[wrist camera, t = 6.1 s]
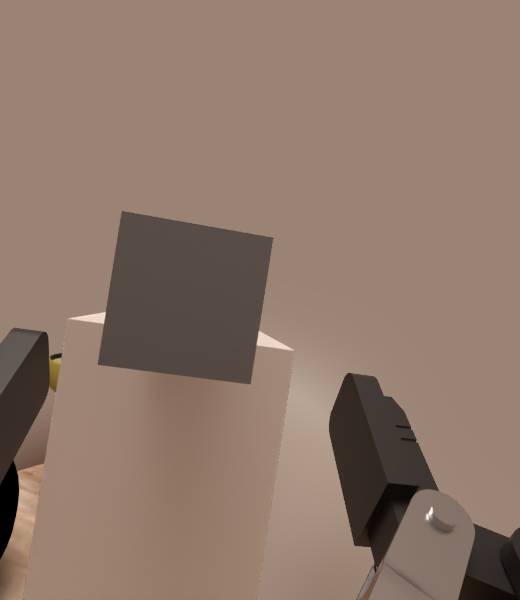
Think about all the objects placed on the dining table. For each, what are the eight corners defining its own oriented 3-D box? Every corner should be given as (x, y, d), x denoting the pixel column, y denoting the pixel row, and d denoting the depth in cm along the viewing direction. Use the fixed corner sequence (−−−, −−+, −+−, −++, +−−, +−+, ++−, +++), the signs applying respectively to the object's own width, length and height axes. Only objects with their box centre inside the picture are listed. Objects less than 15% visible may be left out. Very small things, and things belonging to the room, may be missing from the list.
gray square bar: (250, 384, 12) (273, 234, 12) (97, 365, 11) (122, 207, 11) (212, 321, 42) (219, 278, 42) (169, 315, 41) (176, 271, 41)
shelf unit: (197, 1013, 24) (298, 351, 24) (-51, 1031, 22) (63, 318, 23) (197, 708, 42) (255, 328, 42) (59, 704, 40) (122, 308, 41)
